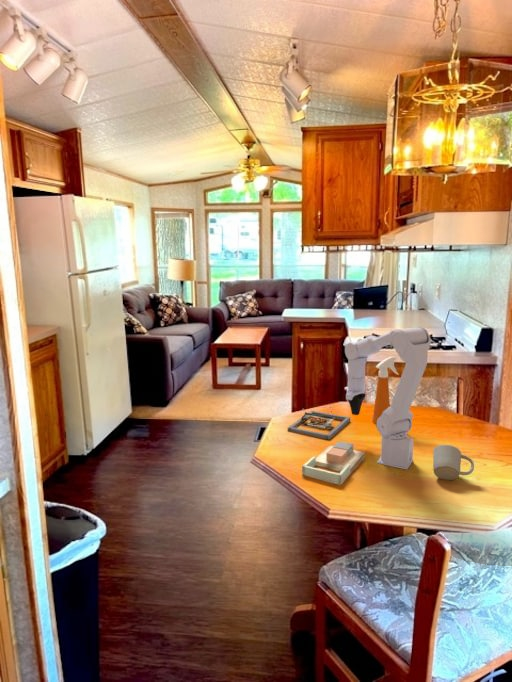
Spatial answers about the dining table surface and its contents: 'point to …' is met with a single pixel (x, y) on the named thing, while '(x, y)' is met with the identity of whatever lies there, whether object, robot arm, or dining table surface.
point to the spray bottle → (383, 388)
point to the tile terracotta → (336, 455)
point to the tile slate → (345, 447)
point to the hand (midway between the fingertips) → (355, 414)
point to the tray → (324, 472)
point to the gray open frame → (317, 434)
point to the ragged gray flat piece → (325, 423)
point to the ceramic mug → (449, 462)
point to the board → (352, 460)
